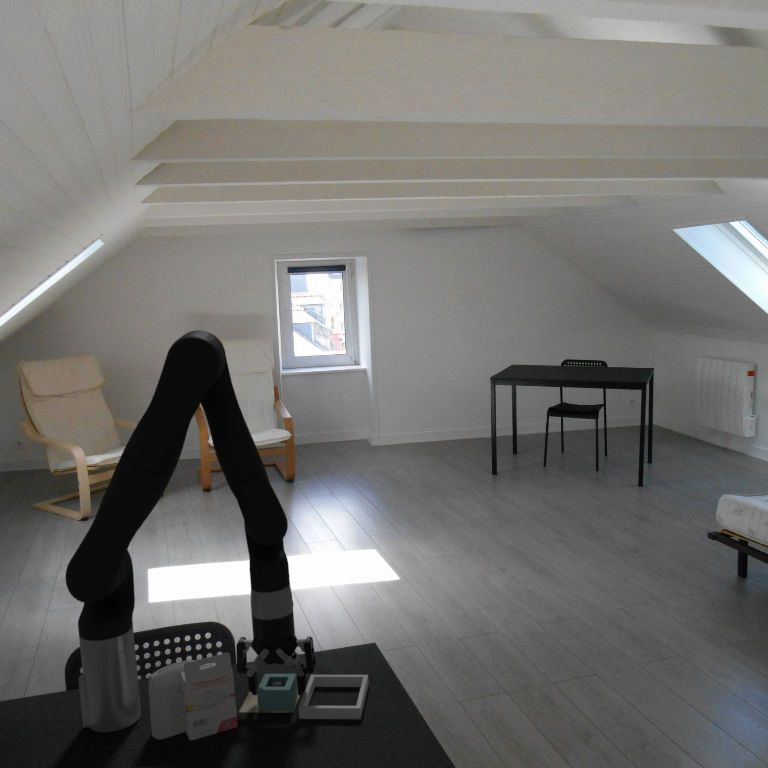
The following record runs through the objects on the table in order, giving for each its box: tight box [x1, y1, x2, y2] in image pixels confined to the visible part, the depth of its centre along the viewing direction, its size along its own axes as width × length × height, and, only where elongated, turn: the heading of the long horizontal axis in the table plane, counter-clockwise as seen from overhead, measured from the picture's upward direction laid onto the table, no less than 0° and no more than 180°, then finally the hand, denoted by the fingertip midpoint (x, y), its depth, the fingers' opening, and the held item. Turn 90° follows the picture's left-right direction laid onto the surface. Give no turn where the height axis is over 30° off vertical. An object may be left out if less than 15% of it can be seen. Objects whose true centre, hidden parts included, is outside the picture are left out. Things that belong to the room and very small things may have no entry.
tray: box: [298, 674, 370, 720], centre depth 147 cm, size 11×12×3 cm
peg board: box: [238, 682, 301, 714], centre depth 149 cm, size 10×10×4 cm
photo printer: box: [147, 659, 197, 741], centre depth 140 cm, size 10×4×12 cm, turn 122°
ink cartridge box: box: [180, 652, 239, 741], centre depth 139 cm, size 9×5×15 cm, turn 116°
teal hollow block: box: [257, 673, 298, 711], centre depth 148 cm, size 6×8×4 cm
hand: (278, 693), depth 147 cm, fingers open, 8 cm apart
